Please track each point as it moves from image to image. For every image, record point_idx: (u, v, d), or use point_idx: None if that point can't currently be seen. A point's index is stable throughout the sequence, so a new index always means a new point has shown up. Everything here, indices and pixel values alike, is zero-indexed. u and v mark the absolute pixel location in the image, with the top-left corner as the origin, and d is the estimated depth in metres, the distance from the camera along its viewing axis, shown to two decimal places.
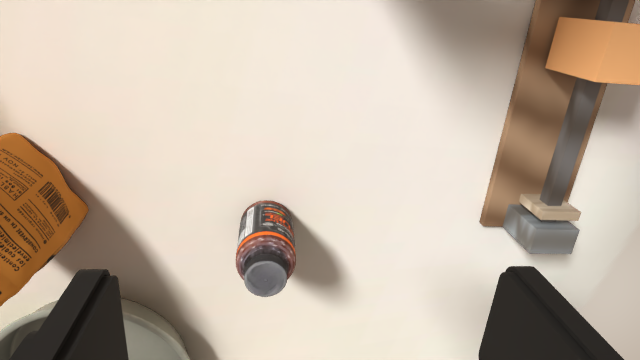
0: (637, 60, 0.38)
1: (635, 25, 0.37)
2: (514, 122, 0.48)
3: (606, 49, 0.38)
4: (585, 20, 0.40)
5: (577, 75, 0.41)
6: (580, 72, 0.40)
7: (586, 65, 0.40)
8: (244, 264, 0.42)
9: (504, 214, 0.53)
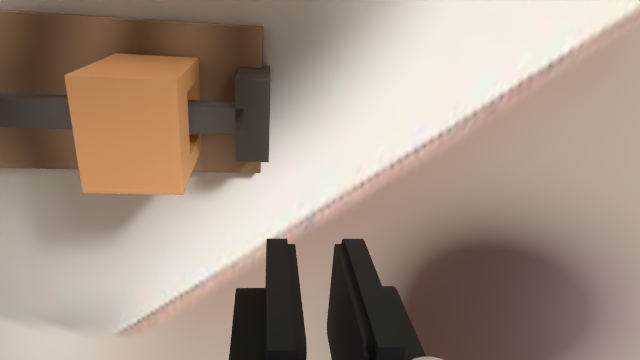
0: (120, 144, 0.22)
1: (175, 121, 0.22)
2: (8, 21, 0.26)
3: (127, 80, 0.21)
4: (186, 67, 0.24)
5: (87, 66, 0.23)
6: (91, 68, 0.22)
7: (102, 70, 0.22)
8: None
9: None
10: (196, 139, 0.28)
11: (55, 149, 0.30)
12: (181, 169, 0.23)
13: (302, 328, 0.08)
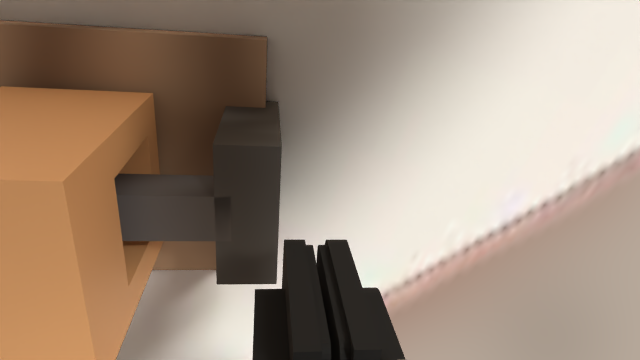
0: None
1: (71, 263, 0.10)
2: None
3: None
4: (114, 126, 0.12)
5: None
6: None
7: None
8: None
9: None
10: None
11: None
12: (94, 350, 0.11)
13: (326, 329, 0.08)
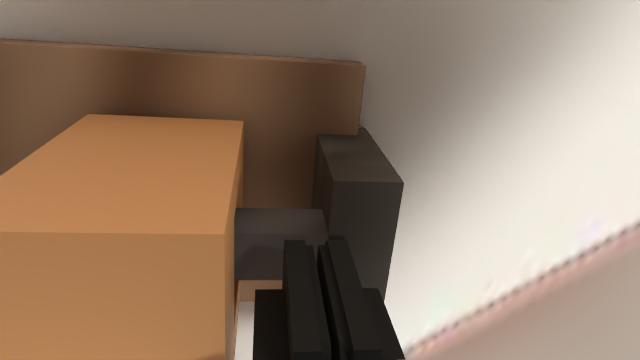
0: None
1: (218, 320, 0.09)
2: None
3: (96, 237, 0.08)
4: (232, 162, 0.11)
5: (8, 174, 0.10)
6: (18, 179, 0.09)
7: (40, 191, 0.09)
8: None
9: None
10: None
11: None
12: None
13: (326, 329, 0.08)
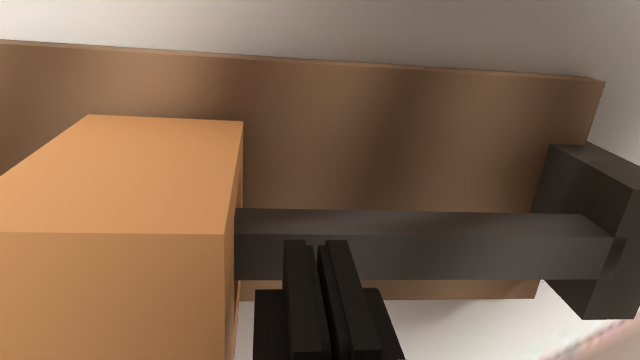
0: None
1: (218, 320, 0.09)
2: (192, 72, 0.15)
3: (95, 237, 0.08)
4: (231, 162, 0.11)
5: (8, 175, 0.10)
6: (18, 180, 0.10)
7: (41, 191, 0.09)
8: None
9: None
10: None
11: None
12: None
13: (326, 329, 0.08)
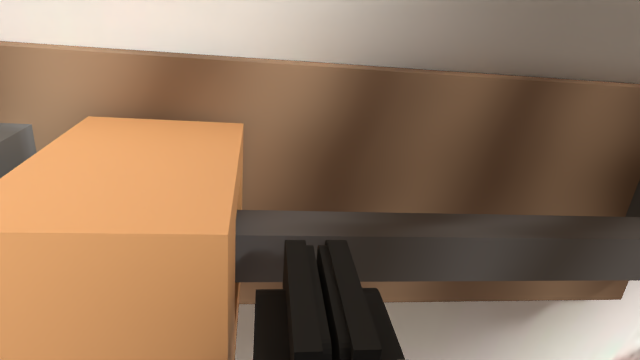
0: None
1: (221, 321, 0.09)
2: (329, 82, 0.15)
3: (99, 238, 0.08)
4: (233, 164, 0.11)
5: (10, 175, 0.10)
6: (20, 181, 0.09)
7: (43, 192, 0.09)
8: None
9: None
10: None
11: None
12: None
13: (326, 329, 0.08)
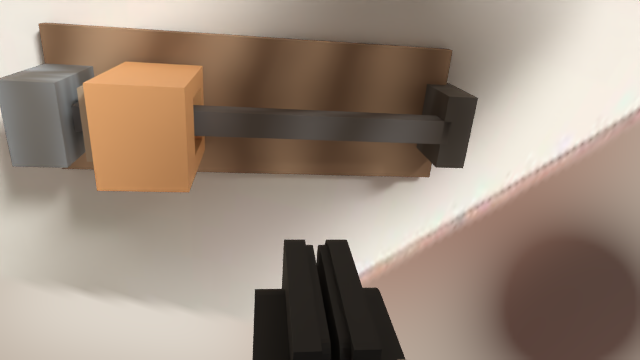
0: (132, 146, 0.24)
1: (183, 124, 0.24)
2: (242, 45, 0.30)
3: (139, 87, 0.23)
4: (192, 75, 0.26)
5: (101, 74, 0.25)
6: (106, 75, 0.24)
7: (116, 78, 0.24)
8: None
9: (70, 62, 0.29)
10: (200, 141, 0.30)
11: (260, 155, 0.33)
12: (188, 169, 0.25)
13: (326, 329, 0.08)
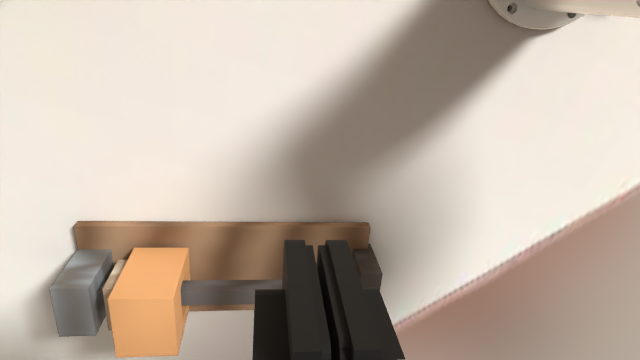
0: (139, 331, 0.36)
1: (173, 318, 0.36)
2: (216, 231, 0.42)
3: (144, 299, 0.35)
4: (180, 271, 0.39)
5: (119, 280, 0.37)
6: (122, 282, 0.37)
7: (128, 286, 0.36)
8: None
9: (95, 247, 0.42)
10: None
11: None
12: (176, 341, 0.37)
13: (326, 329, 0.08)
